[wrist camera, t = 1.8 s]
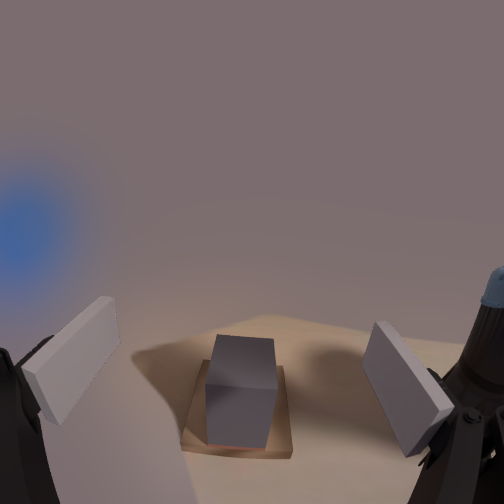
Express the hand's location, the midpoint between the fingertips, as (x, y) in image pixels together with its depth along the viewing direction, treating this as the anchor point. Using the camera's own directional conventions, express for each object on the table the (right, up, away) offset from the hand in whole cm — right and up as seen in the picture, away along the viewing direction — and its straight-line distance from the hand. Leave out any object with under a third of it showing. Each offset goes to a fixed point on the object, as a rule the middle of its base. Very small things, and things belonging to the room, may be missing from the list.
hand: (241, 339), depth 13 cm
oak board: (-1, -16, +19) cm, 25 cm away
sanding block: (-1, -16, +14) cm, 21 cm away
